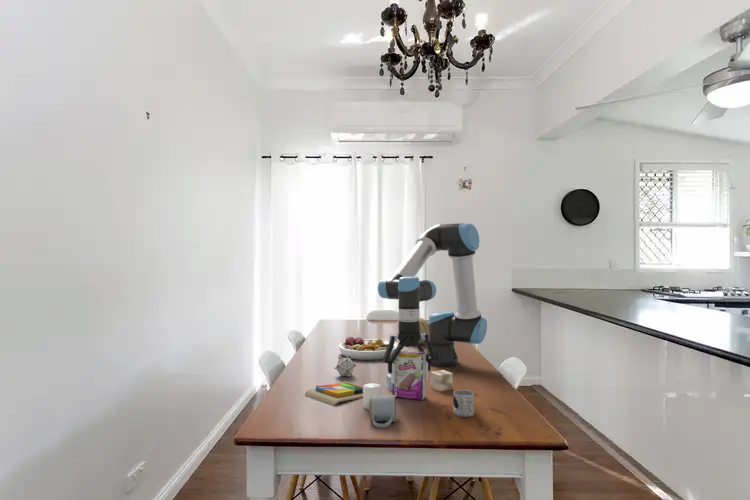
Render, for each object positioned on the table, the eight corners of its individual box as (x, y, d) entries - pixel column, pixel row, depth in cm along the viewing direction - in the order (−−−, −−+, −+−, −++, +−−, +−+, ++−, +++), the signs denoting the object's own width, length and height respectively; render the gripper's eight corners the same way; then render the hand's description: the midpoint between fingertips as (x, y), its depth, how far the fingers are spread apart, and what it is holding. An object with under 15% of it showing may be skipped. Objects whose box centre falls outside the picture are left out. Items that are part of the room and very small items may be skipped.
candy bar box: (392, 397, 170) (392, 351, 170) (396, 393, 175) (396, 348, 174) (422, 401, 166) (422, 353, 166) (426, 396, 171) (426, 350, 171)
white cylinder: (378, 403, 164) (378, 382, 164) (383, 409, 158) (383, 388, 158) (361, 404, 163) (361, 384, 162) (365, 410, 157) (365, 389, 157)
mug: (452, 409, 158) (452, 389, 158) (473, 409, 157) (473, 389, 157) (454, 420, 148) (454, 398, 148) (476, 420, 147) (476, 399, 147)
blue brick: (406, 386, 185) (406, 373, 185) (409, 389, 181) (409, 375, 181) (386, 387, 183) (386, 374, 183) (389, 390, 179) (389, 377, 179)
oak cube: (443, 385, 185) (443, 369, 185) (452, 389, 180) (452, 373, 180) (430, 387, 183) (430, 371, 183) (439, 391, 177) (439, 375, 177)
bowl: (409, 352, 244) (409, 337, 244) (378, 364, 219) (378, 347, 219) (361, 346, 260) (361, 331, 260) (327, 357, 235) (327, 341, 235)
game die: (348, 386, 197) (352, 370, 192) (329, 377, 199) (333, 362, 193) (356, 371, 204) (360, 355, 199) (338, 363, 206) (342, 347, 200)
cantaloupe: (434, 342, 268) (434, 316, 268) (426, 347, 254) (426, 319, 254) (409, 340, 274) (409, 314, 274) (400, 345, 260) (400, 318, 260)
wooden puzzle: (374, 395, 175) (374, 385, 175) (334, 407, 161) (334, 397, 161) (342, 385, 187) (342, 376, 187) (303, 396, 174) (303, 387, 174)
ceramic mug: (370, 415, 152) (370, 391, 152) (396, 416, 151) (396, 392, 151) (368, 429, 141) (367, 403, 141) (395, 429, 141) (395, 403, 141)
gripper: (378, 323, 164) (378, 386, 164) (444, 320, 169) (444, 381, 169) (373, 319, 171) (374, 380, 171) (437, 317, 176) (437, 376, 177)
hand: (409, 381), depth 170 cm, fingers closed on candy bar box, 12 cm apart
